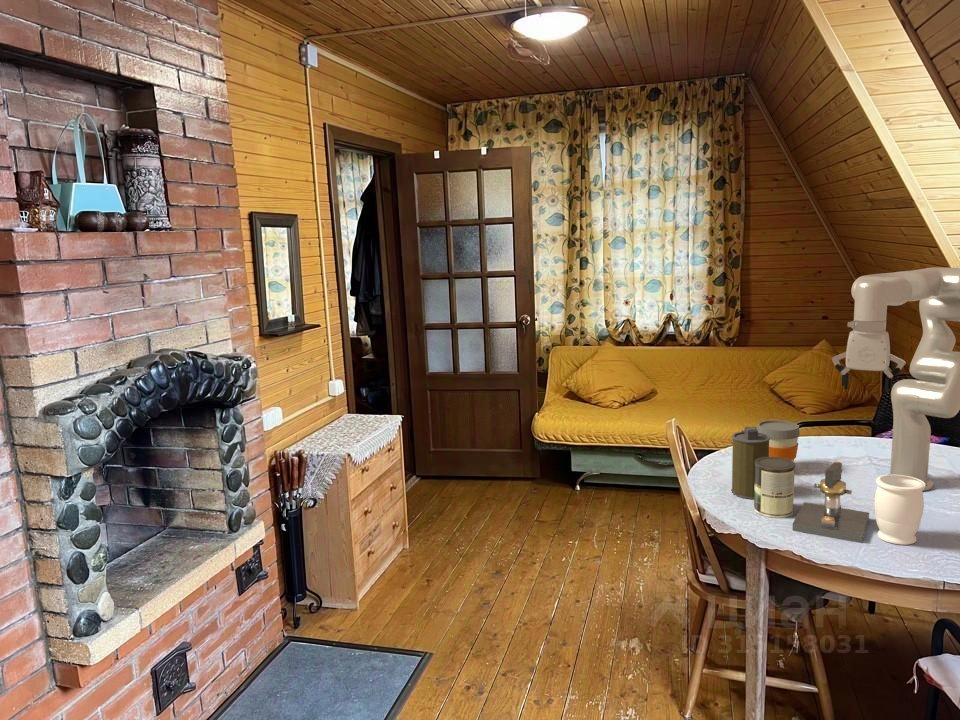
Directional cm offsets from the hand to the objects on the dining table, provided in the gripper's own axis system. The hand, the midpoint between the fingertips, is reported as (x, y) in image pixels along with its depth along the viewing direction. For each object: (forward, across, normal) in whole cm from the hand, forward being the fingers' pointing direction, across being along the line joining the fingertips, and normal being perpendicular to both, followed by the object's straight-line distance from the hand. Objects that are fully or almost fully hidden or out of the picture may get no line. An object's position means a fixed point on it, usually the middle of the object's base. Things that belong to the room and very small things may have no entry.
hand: (866, 390), depth 193 cm
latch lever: (+24, -5, -16) cm, 29 cm away
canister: (+34, -29, -2) cm, 44 cm away
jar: (+34, +10, -17) cm, 39 cm away
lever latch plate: (+33, -5, -16) cm, 37 cm away
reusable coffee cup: (+34, -26, +21) cm, 47 cm away
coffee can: (+34, -20, -13) cm, 41 cm away
